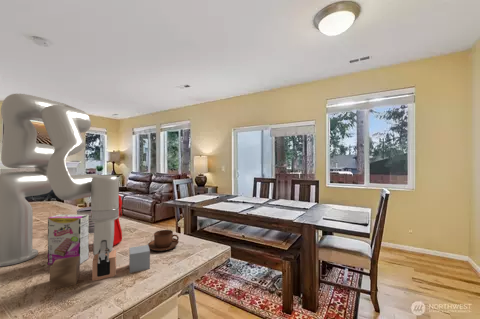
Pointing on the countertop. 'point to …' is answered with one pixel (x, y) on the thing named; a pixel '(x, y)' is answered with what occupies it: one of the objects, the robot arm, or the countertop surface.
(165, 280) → the countertop surface
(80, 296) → the countertop surface
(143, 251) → the slate grey block
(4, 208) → the robot arm
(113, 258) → the terracotta block
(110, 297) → the countertop surface
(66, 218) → the candy bar box
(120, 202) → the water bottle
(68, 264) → the walnut block
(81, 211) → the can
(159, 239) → the cup and saucer
